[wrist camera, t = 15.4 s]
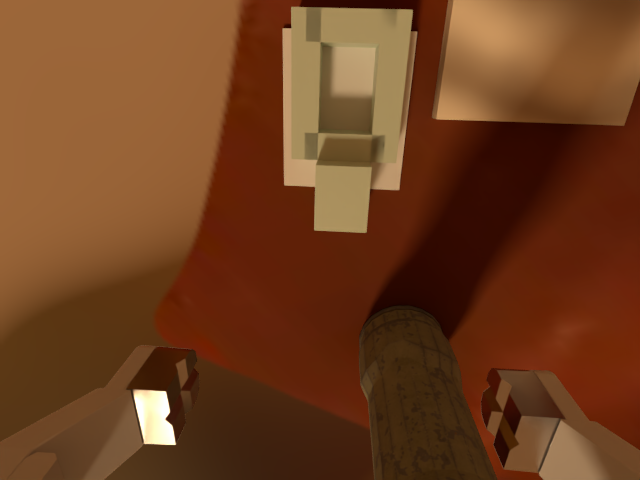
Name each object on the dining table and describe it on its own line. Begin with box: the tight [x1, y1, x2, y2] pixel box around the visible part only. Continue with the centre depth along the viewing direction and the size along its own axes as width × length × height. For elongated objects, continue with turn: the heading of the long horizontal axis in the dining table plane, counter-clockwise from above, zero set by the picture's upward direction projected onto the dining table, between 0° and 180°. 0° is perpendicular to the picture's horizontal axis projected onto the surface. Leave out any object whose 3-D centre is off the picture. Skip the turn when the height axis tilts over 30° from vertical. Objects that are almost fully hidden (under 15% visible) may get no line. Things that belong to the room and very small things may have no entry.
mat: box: [283, 28, 417, 190], centre depth 29 cm, size 12×10×1 cm
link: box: [291, 7, 413, 233], centre depth 27 cm, size 15×8×5 cm, turn 178°
